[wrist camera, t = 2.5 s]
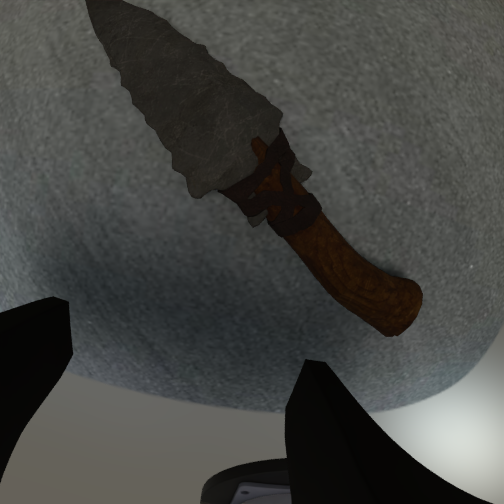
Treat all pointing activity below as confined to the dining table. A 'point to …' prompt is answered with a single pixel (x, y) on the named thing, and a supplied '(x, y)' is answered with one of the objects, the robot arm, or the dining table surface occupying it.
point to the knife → (241, 155)
